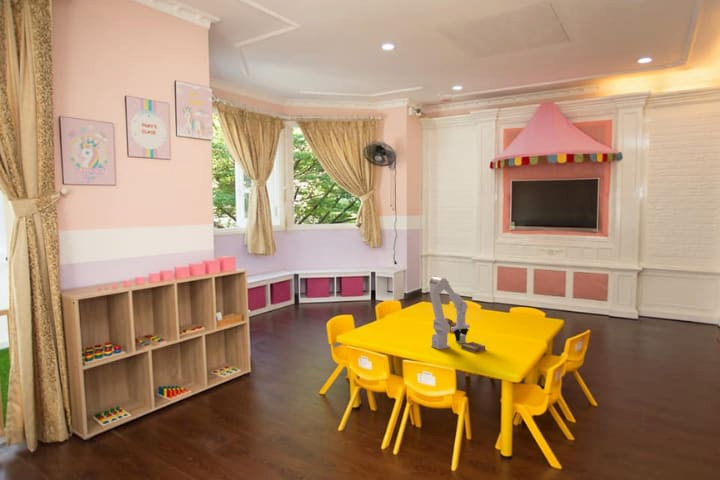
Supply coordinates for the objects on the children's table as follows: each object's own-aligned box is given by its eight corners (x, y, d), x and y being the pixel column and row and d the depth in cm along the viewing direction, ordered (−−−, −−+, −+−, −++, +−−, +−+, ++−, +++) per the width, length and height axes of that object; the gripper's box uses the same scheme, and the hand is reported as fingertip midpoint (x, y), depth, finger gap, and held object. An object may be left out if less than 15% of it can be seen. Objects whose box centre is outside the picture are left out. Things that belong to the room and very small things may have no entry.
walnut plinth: (473, 353, 266) (473, 348, 265) (461, 349, 274) (461, 344, 274) (485, 350, 271) (485, 345, 271) (472, 346, 280) (472, 341, 279)
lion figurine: (442, 331, 311) (443, 318, 311) (444, 329, 316) (444, 316, 316) (464, 333, 306) (464, 320, 305) (465, 331, 311) (465, 318, 310)
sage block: (460, 343, 283) (460, 336, 283) (455, 342, 287) (455, 334, 287) (465, 342, 286) (465, 334, 285) (460, 340, 289) (460, 333, 289)
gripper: (457, 322, 278) (457, 343, 279) (473, 319, 286) (473, 339, 287) (449, 320, 284) (449, 341, 285) (465, 316, 292) (464, 337, 293)
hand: (460, 340), depth 286 cm, fingers closed on sage block, 4 cm apart
